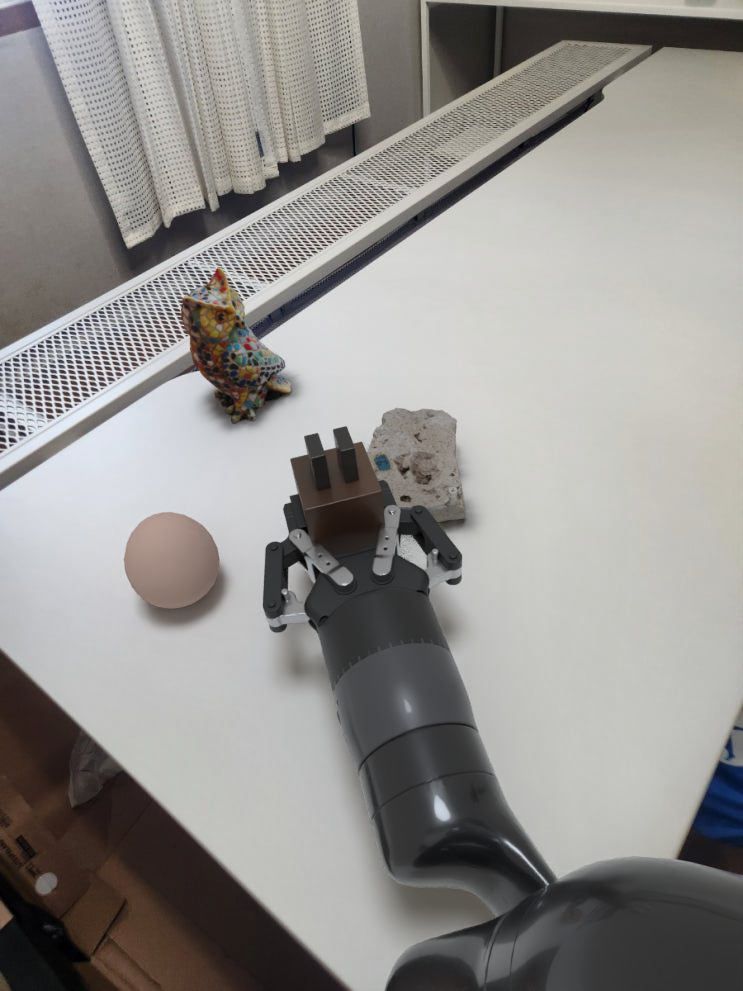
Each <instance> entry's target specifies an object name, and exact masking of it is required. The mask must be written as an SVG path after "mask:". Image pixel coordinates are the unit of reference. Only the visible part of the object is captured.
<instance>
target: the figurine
mask: <svg viewBox="0 0 743 991" xmlns="http://www.w3.org/2000/svg"><path fill="white" fill-rule="evenodd" d="M181 302H182V303H181V308H180V319H181V321H182V325H183V327H184V330H185V332H186V334H187V336H188V337H189V351H190V355H191V360H192V363H193V364H194V365H195V367H196V368H197V370H198V371H199V373H200V374H201V376H202V377H203V378H204V379H205V380H207V381H208V382H209V383H210V384H211V385H213V387H215V388H216V389H215V390H214V392H213V393H214V399H219V401H220V404H221V406H222V407H223V408H225V409H224V412H225V413H226V414H228V415H230V416H231V418H230V420H231V423H232V424H236V423H238V422H239V421H240V422H241V421H244V420H247V421H248V420H249V421H252V422H253V421H256V418H257V414H256V413H255V412H256V411H257V410H258V409H259V408H261V407H263V406H265V403H266V402H271V401H276V400H278V399H280V398H281V397H282V396H286V395H290V394H291V393H292V383H291V382H290V381H289V380H288V379H287V378H285V377H284V376H283V375H281V374H279V373H281V372H282V371H283V370H285V369H286V361H285V359H283V357H282V356H280V355H279V354H277V353H275V352H273V351H272V350H271V349H269V347H267V346H266V345H265V344H264V343H263V342H262V341H260V339H259V338H258V336H256V335H255V333H254V332H253V330H252V329H250V328H249V327H248V326H247V322H246V321H245V318H246V312H245V305H244V303H243V300H242V298H241V296H240V294H239V293H238V291H236V289H234V288H233V287H231V286H230V285H229V279H228V277H227V274H226V273H225V272H224V270H223V269H222V268H221V267H217V268H216V269H215V271H214V273H213V274H212V275H211V276H210V280H209V281H208V282H206V283H204V284H203V285H201V286H197V287H196V288H194V289H191V290H190V292H189V293H188V294H187V295H184V296H183V297H182V299H181ZM278 374H279V375H278Z"/></svg>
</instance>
